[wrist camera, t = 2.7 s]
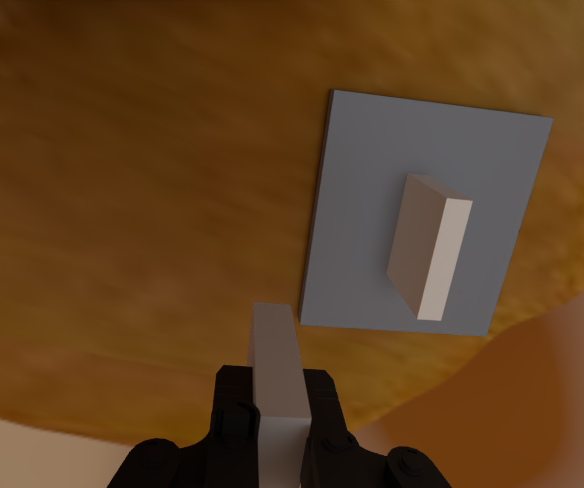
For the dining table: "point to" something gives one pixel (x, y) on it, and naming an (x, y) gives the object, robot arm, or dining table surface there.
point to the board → (387, 201)
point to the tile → (427, 244)
